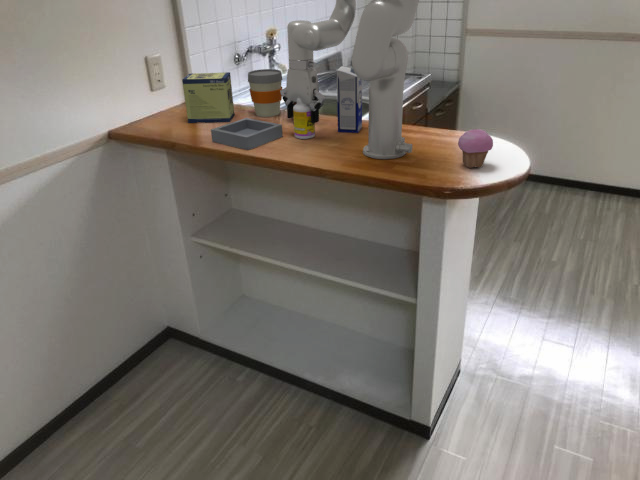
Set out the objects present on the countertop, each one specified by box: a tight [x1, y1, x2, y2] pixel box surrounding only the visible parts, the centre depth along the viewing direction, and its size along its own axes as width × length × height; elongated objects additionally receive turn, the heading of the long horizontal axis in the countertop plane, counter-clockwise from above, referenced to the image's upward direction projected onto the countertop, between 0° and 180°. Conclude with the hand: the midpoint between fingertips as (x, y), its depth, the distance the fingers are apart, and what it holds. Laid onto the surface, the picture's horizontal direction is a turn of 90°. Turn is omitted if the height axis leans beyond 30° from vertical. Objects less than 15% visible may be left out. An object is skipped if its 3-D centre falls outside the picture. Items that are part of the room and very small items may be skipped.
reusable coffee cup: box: [247, 68, 283, 118], centre depth 198 cm, size 13×13×15 cm
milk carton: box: [336, 65, 363, 134], centre depth 175 cm, size 7×7×20 cm
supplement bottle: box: [293, 98, 316, 140], centre depth 172 cm, size 7×7×13 cm
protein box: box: [181, 71, 235, 124], centre depth 194 cm, size 10×16×16 cm
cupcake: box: [457, 128, 494, 169], centre depth 144 cm, size 9×9×10 cm
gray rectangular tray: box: [210, 117, 284, 151], centre depth 173 cm, size 16×16×4 cm
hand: (303, 119), depth 173 cm, fingers open, 9 cm apart
